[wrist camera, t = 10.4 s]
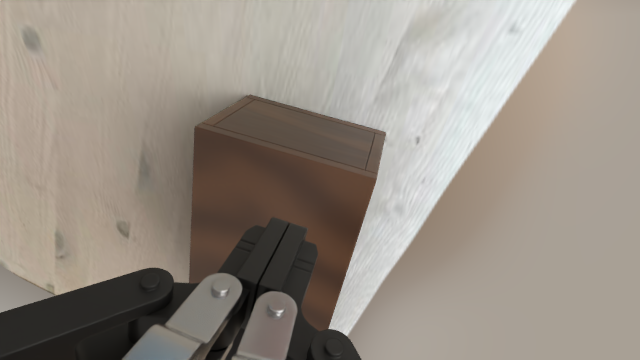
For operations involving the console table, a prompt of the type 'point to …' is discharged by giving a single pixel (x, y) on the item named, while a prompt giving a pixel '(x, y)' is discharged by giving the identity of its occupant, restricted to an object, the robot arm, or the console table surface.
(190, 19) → the console table surface
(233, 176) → the cabinet
